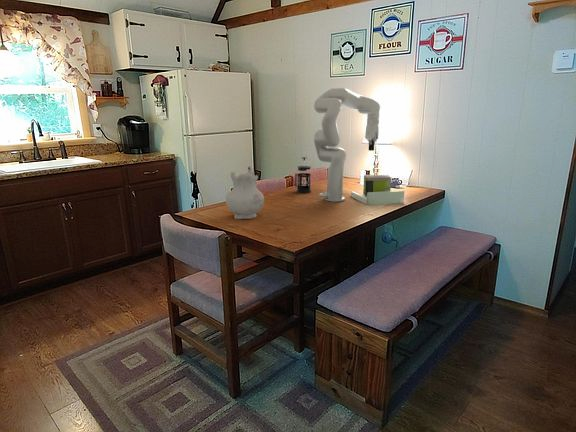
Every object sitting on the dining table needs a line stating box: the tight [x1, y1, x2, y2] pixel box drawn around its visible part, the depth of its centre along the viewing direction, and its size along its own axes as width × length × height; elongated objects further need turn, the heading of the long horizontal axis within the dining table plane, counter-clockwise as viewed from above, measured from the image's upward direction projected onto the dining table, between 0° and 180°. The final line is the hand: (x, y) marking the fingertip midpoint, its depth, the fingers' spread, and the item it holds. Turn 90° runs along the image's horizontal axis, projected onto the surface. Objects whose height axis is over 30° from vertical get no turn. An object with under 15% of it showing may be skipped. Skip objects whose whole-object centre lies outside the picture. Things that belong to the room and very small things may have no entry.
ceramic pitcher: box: [225, 165, 265, 220], centre depth 196 cm, size 22×20×25 cm
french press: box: [294, 156, 312, 194], centre depth 252 cm, size 12×9×23 cm
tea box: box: [362, 174, 392, 197], centre depth 232 cm, size 15×10×15 cm, turn 85°
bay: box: [350, 190, 405, 206], centre depth 234 cm, size 23×24×7 cm
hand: (371, 150), depth 251 cm, fingers closed
